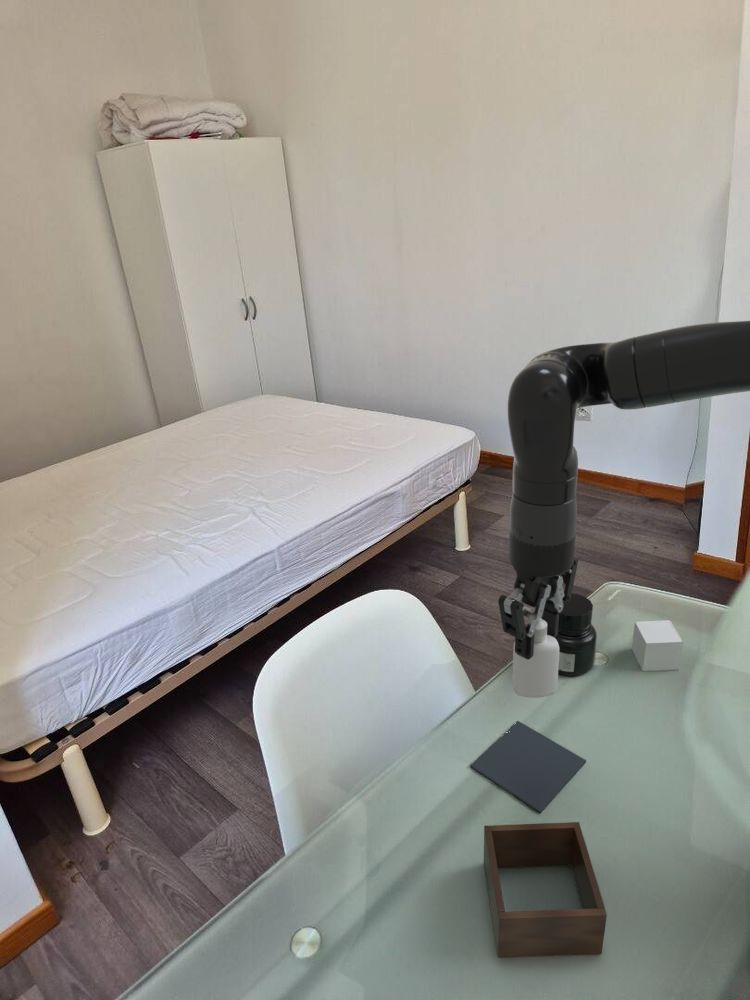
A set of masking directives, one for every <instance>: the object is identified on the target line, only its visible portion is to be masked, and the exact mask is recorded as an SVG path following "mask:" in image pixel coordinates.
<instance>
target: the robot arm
mask: <svg viewBox="0 0 750 1000" xmlns="http://www.w3.org/2000/svg"><path fill="white" fill-rule="evenodd" d="M746 392H750V320H737V321H719V322H706V323H695V324H691V325H683V326H679V327H673V328H669V329H664V330H660V331H656V332H651V333H646V334H641V335H637V336H633V337H629V338H625V339H621V340H618V341H613V342H596V343H595V342H594V343H584V344H575V345H568V346H567V345H566V346H562V347H557V348H553V349H550V350H546V351H543V352H541V353H539V354H537V355H535V356H534V357H533V358H532V359H531V360H530V361H529V362H528V363H527V364H526V365H525V366H524V367H523V368H522V369H521V371H519V372H518V373H517V375H516V376H515V377H514V379H513V381H512V382H511V385H510V388H509V391H508V397H507V423H508V430H509V437H510V443H511V447H512V453H513V463H512V491H511V493H512V495H511V501H510V505H509V525H508V526H509V528H508V529H509V530H508V531H509V532H508V561H509V563H510V565H511V567H512V568H513V569H514V571H515V572H516V577H515V581H514V585H513V591H512V592H511V593H510V594H509V596H508V595H505V594H501V595H500V596H499V598H498V600H497V603H498V608H499V613H500V619H501V625H502V630H503V631H502V632H504V633H505V634H507V635H510V636H512V637H514V642H515V653H517V654H518V655H519V656H521V657H523V658H525V659H528V660H529V659H530V658H531V657H533V652H534V631H535V627H536V622H537V619H540V618H541V619H543V620H544V621H546V623H547V635H550V636H552V637H556V636H557V635H558V624H559V613H560V612H561V611H562V609H563V602H564V601H565V602H569V600H570V598H571V594H572V593H573V589H574V584H575V579H576V574H577V569H578V565H579V559H578V558H577V557H575V551H576V550H575V549H576V535H577V523H578V522H577V521H578V502H577V492H578V491H577V489H578V477H579V476H578V475H579V457H578V452H577V450H576V447H575V446H574V439H575V438H574V437H575V436H574V435H575V434H574V433H575V421H576V415H577V409H581V408H586V407H593V406H602V405H610V404H612V405H613V406H614V407H616V408H617V409H619V410H628V411H629V410H639V409H645V408H653V407H659V406H665V405H670V404H671V405H672V404H675V403H682V402H687V401H693V400H699V399H705V398H712V397H718V396H724V395H731V394H739V393H746ZM563 584H564V585H565V586H563ZM524 604H525V605H524ZM526 605H527V606H526ZM528 606H529V607H528ZM530 607H532V608H534V609H532V608H530ZM525 618H527V619H528V621H527V623H528V625H527V624H526V622H525Z"/></svg>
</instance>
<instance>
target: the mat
mask: <svg viewBox="0 0 750 1000" xmlns="http://www.w3.org/2000/svg"><path fill="white" fill-rule="evenodd" d="M515 723H516V724H515ZM515 723H514V724H515V725H514V724H512V725H511V727H512V728H511V727H509V728H510V729H509V728H508V729H509V730H508V729H507V730H508V731H507V730H506V731H505V732H508V733H505V732H504V733H503V734H502V735H504V736H502V735H501V736H502V737H501V736H499V737H498V739H497V740H496V741H494V742H493V743H492V744H491V745H490V746H489V747H488V748H487V749H486V750H485V751H484V752H483V753H482V754H481V755H480V756H478V757H477V759H475V760H474V761H473V763H471V764H470V768H471V769H472V770H474V771H476V772H477V773H478V774H480V775H482V776H483V777H485V778H486V779H488V780H489V781H491V782H492V783H494V784H495V785H496V786H497V787H499V788H501V789H502V790H504V791H506V792H507V793H509V794H510V795H512V796H513V797H514V798H516V799H517V800H519V801H520V802H522V803H523V804H525V805H527V807H530V808H531V809H533V810H534V811H535V812H537V813H538V814H542V812H543V811H544V810H546V808H547V807H548V806H549V805H550V803H551V802H552V801H553V800H554V799H555V798H556V796H558V795H559V793H560V792H561V791H562V790H563V789H564V788H565V787H566V785H567V784H569V782H570V781H571V780H572V779H573V778H574V776H576V774H577V773H579V771H580V770H581V769H582V767H583V766H584V765H585V764H586V763H587V759H585V758H583V757H581V756H580V755H578V754H577V753H574V752H573V751H571V750H570V749H568V748H566V747H564V746H562V745H561V744H559V743H557V742H556V741H554V740H552V739H551V738H549V737H548V736H545V735H543V734H542V733H540V732H539V731H536V730H535V729H533V728H531V727H530V726H528V725H526V724H525V723H523V722H521V721H519V720H517V721H516V722H515ZM509 731H510V732H509Z"/></svg>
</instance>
